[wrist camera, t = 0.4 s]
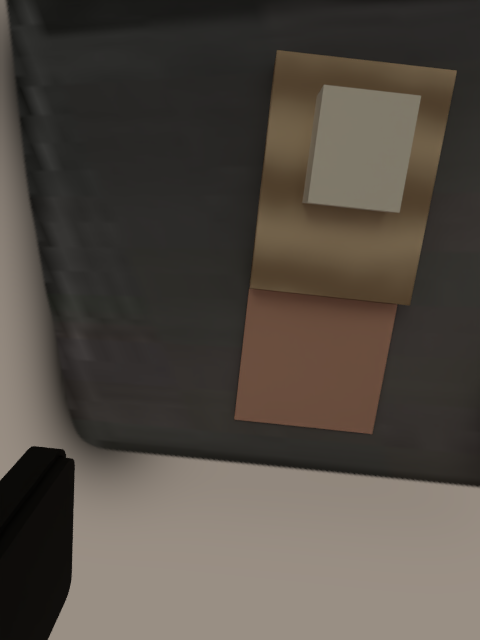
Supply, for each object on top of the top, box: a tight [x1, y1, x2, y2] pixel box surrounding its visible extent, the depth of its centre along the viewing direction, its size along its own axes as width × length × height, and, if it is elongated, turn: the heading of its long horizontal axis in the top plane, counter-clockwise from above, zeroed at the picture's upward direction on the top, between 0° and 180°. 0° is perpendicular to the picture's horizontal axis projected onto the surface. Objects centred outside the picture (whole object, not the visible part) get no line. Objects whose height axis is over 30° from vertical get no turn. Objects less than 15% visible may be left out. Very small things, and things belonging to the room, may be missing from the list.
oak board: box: [250, 50, 457, 305], centre depth 34 cm, size 16×12×3 cm
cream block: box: [302, 85, 421, 213], centre depth 30 cm, size 7×6×3 cm
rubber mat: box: [234, 288, 397, 434], centre depth 38 cm, size 12×12×1 cm
